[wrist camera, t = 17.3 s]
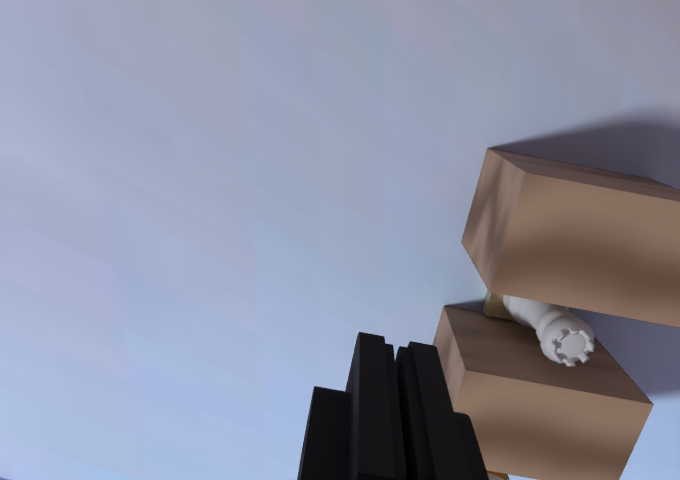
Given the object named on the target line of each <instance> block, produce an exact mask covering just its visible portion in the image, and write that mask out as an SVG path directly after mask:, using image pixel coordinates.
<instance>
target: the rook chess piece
mask: <svg viewBox="0 0 680 480" xmlns="http://www.w3.org/2000/svg"><path fill="white" fill-rule="evenodd" d="M503 302H504V305H505V307H506V310H507V312H508V313H510V314H511V316H512V317H513V318H514V319H515V320H516V321H517V322H518V323H519V324H521V325H524V326H526V327H529V328H534V329H536V334H537V336H538V339H539V340H540V341H541V344H540V346H541V348H542V351H543V354H544V355H546V356H547V357H548V358H549V359H550V360H552V361H555V362H558V363H559V364H560V363H565V364H566V366H567V367H568V366H575V361H577V360H581V361H582V362H583V364H584V363H585V362H586V361H587V360H589V359H590V358H589V357H588V355H587V354H588V352H589V351H591V352H594V347H595V344H594V343H593V342H594V333H593V330H592V327H591V326H590V325H589V324H588V323H587V322H586V321H584V320H582V319H579V318H578V317H577V316H576V315H575V314H574V313H573V312H571V311H568V309H567V306H561V305H556V304H551V303H545V302H540V301H534V300H529V299H524V298H518V297H513V296H508V295H504V299H503Z"/></svg>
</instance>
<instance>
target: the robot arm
mask: <svg viewBox="0 0 680 480" xmlns="http://www.w3.org/2000/svg"><path fill="white" fill-rule="evenodd" d="M297 480H489V477H488V474H487V470H486V467H485V464H484V461H483V457H482V454H481V451H480V448H479V444H478V441H477V438H476V435H475V431H474V428H473V425H472V422H471V419H470V417H469V415H467V414H465V413H459V412H454V410H453V406H452V403H451V399H450V395H449V391H448V387H447V384H446V380H445V376H444V372H443V369H442V365H441V361H440V357H439V354H438V350H437V347H436V346H433V345H428V344H422V343H417V342H411V341H410V343H409V345H408V347H402V346H400V347H399V349H398V352H397V356H396V360H395V359H394V349H393V345H391V344H385V338H384V336H379V335H373V334H368V333H363V332H359V333H358V336H357V340H356V345H355V349H354V354H353V359H352V363H351V368H350V372H349V377H348V381H347V386H346V390H345V392H344V391H339V390H333V389H328V388H322V387H317V386H314V390H313V395H312V400H311V405H310V410H309V415H308V420H307V426H306V431H305V437H304V442H303V448H302V454H301V460H300V466H299V472H298V478H297Z"/></svg>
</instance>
